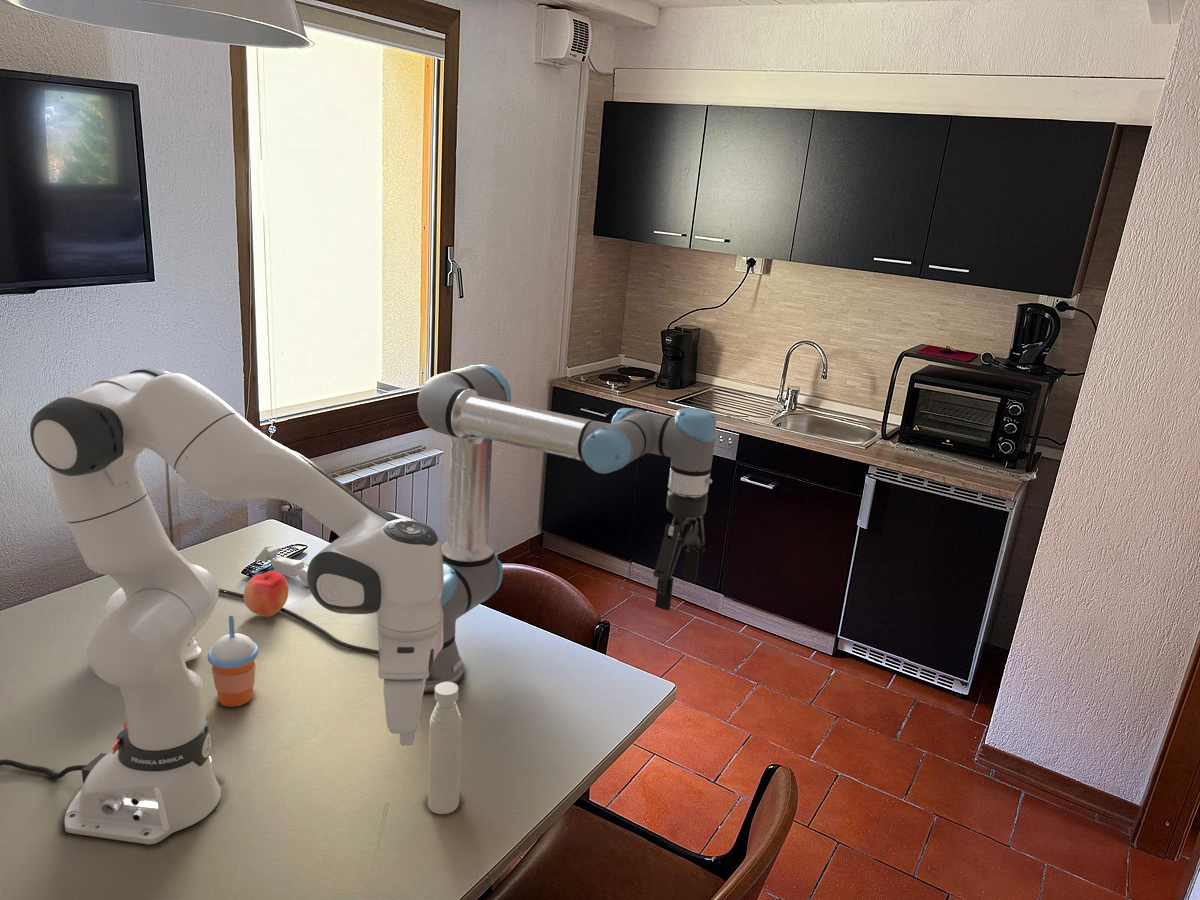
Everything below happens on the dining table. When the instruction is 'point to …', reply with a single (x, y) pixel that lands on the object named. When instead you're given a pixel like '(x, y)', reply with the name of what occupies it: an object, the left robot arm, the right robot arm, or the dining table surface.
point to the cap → (446, 692)
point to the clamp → (284, 563)
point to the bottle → (444, 758)
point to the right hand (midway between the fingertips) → (676, 594)
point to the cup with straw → (233, 667)
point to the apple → (266, 593)
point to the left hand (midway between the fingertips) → (411, 721)
